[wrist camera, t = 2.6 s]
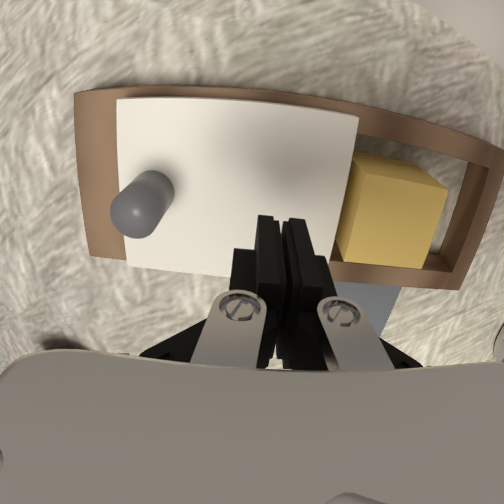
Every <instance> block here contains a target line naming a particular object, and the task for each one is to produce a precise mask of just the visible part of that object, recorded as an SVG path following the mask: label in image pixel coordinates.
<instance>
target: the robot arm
mask: <svg viewBox="0 0 504 504" xmlns="http://www.w3.org/2000/svg"><path fill="white" fill-rule="evenodd" d="M275 344H276V356H277V359H282V361H283V369H292V370H278V369H265V368H266V367H268V364H269V359H272V358H273V353H274V349H275ZM494 356H495V358H496V360H497V362H480V363H468V364H456V365H446V366H433V367H432V366H427V367H423V366H422V365H421V364H420V363H419V362H417V361H416V360H414V359H413V358H411V357H410V356H408V355H406V354H405V353H403V352H402V351H400V350H398V349H397V348H395V347H394V346H392V345H391V344H389V343H387V342H386V341H384V340H383V339H381V338H379V337H378V336H377V334H376V332H375V330H374V328H373V326H372V325H371V323H370V321H369V319H368V317H367V316H366V314H365V312H364V310H363V309H362V308H361V307H360V306H359V305H358V304H357V303H355V302H354V301H352V300H350V299H347V298H343V297H338V296H337V292H336V289H335V286H334V282H333V279H332V276H331V273H330V269H329V266H328V263H327V260H326V257H325V256H323V255H315V253H314V249H313V245H312V242H311V238H310V235H309V231H308V228H307V224H306V221H305V219H299V218H289V220H288V221H283V224H282V230H281V232H280V224H279V220H274V217H273V216H268V215H258V218H257V227H256V236H255V245H254V250H252V249H240V248H234V251H233V260H232V269H231V278H230V287H229V291H227V292H224V293H222V294H220V295H219V296H218V297H217V298H216V299H215V301H214V302H213V305H212V307H211V310H210V312H209V315H208V318H206V319H205V320H203V321H201V322H199V323H197V324H195V325H193V326H191V327H189V328H187V329H186V330H184V331H182V332H180V333H178V334H176V335H174V336H172V337H170V338H168V339H166V340H164V341H162V342H160V343H158V344H157V345H155V346H153V347H151V348H149V349H147V350H145V351H144V352H142V353H141V354H140V355H139V356H131V355H130V354H129V353H118V354H115V353H108V352H101V351H94V350H81V349H54V350H46V351H38V352H34V353H30V354H27V355H24V356H22V357H20V358H18V359H16V360H15V361H13V362H12V363H11V364H10V365H9V366H8V367H7V368H6V369H5V370H4V371H3V372H2V373H1V375H0V504H504V326H503V327H502V329H501V331H500V333H499V335H498V337H497V340H496V342H495V346H494Z"/></svg>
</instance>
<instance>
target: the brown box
mask: <svg viewBox="0 0 504 504" xmlns="http://www.w3.org/2000/svg"><path fill="white" fill-rule="evenodd" d="M127 97H208V98H227V99H241V100H253V101H263V102H273V103H282V104H290V105H297V106H304V107H311V108H318V109H324V110H330V111H336V112H341V113H346V114H352V115H355V116H357V117H359V122H358V127H357V134H362V135H367V136H372V137H377V138H382V139H386V140H391V141H395V142H399V143H404V144H408V145H412V146H416V147H420V148H423V149H427V150H431V151H435V152H438V153H442V154H445V155H449V156H452V157H456V158H459V159H462V160H465V161H469V163H468V167H467V170H466V174H465V177H464V181H463V184H462V188H461V191H460V194H459V198H458V201H457V204H456V207H455V210H454V213H453V216H452V219H451V222H450V225H449V228H448V230H447V233H446V236H445V239H444V241H443V244H442V247H441V249H440V252H439V254H431V253H428V254H427V256H426V259H425V261H424V264H423V266H422V269H416V268H405V267H395V266H385V265H375V264H364V263H354V262H344V261H343V258H342V255H341V252H340V250H339V247H338V244H337V242H334V243H333V247H332V251H331V255H330V259H329V263H328V266H329V269H330V273H331V276H332V279H333V281H339V282H351V283H364V284H376V285H389V286H403V287H417V288H431V289H446V290H459V289H460V287H461V285H462V283H463V281H464V278H465V276H466V274H467V272H468V270H469V268H470V265H471V263H472V261H473V258H474V256H475V254H476V251H477V249H478V247H479V244H480V242H481V239H482V237H483V234H484V231H485V229H486V226H487V223H488V221H489V218H490V215H491V212H492V209H493V207H494V204H495V201H496V198H497V194H498V191H499V188H500V185H501V182H502V178H503V175H504V150H503V149H501V148H499V147H497V146H495V145H493V144H491V143H488V142H486V141H483V140H481V139H478V138H475V137H473V136H470V135H467V134H464V133H461V132H458V131H455V130H453V129H449V128H446V127H443V126H440V125H437V124H434V123H431V122H427V121H424V120H420V119H417V118H413V117H410V116H406V115H402V114H398V113H394V112H391V111H386V110H382V109H378V108H374V107H369V106H365V105H360V104H355V103H350V102H345V101H340V100H334V99H329V98H323V97H317V96H310V95H304V94H297V93H289V92H281V91H272V90H262V89H252V88H239V87H223V86H199V85H149V86H126V87H111V88H99V89H91V90H86V91H80V92H76V93H74V125H75V144H76V158H77V169H78V179H79V188H80V196H81V204H82V211H83V218H84V224H85V231H86V237H87V242H88V248H89V253H90V256H95V257H104V258H112V259H120V260H127V258H126V250H125V242H124V235H123V234H122V233H120V232H119V231H118V230H117V229H116V227H115V226H114V224H113V223H112V220H111V217H110V206H111V203H112V201H113V199H114V198H115V197H116V196H117V195H118V194H119V193H120V191H119V176H118V157H117V113H116V108H117V99H121V98H127Z"/></svg>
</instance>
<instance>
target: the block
mask: <svg viewBox="0 0 504 504" xmlns="http://www.w3.org/2000/svg"><path fill="white" fill-rule="evenodd" d="M448 192H449V190H448V189H447V188H446V187H444V186H443V185H442V184H440V183H439V182H438V181H437V180H435V179H434V178H433V177H431V176H430V175H429V174H427V173H426V172H425V171H424V170H422V169H421V168H419V167H418V166H417V165H415V164H414V163H411V162H406V161H402V160H397V159H392V158H388V157H383V156H378V155H373V154H367V153H362V152H356V151H353V155H352V160H351V165H350V170H349V175H348V180H347V185H346V190H345V195H344V199H343V204H342V208H341V213H340V217H339V222H338V226H337V230H336V235H335V239H336V241H337V244H338V247H339V250H340V252H341V255H342V258H343V261H344V262H354V263H364V264H375V265H385V266H395V267H405V268H416V269H422V266H423V264H424V261H425V259H426V256H427V254H428V251H429V248H430V246H431V243H432V240H433V237H434V235H435V232H436V229H437V226H438V223H439V220H440V217H441V214H442V211H443V208H444V205H445V202H446V198H447V195H448Z"/></svg>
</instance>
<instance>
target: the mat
mask: <svg viewBox="0 0 504 504" xmlns="http://www.w3.org/2000/svg"><path fill="white" fill-rule="evenodd" d="M333 282H334V286H335V289H336V292H337V296H338V297H343V298H347V299H350V300H352V301H354V302H355V303H357V304H358V305H359V306H360V307H361V308H362V309H363V310H364V312H365V314H366V316H367V317H368V319H369V321H370V323H371V325H372V326H373V328H374V330H375V332H376V334H377V336H378V337H380V335H381V333H382V331H383V328H384V326H385V324H386V322H387V320H388V318H389V315H390V313H391V311H392V309H393V306H394V304H395V302H396V299H397V297H398V295H399V292H400V290H401V287H402V286H389V285H376V284H364V283H351V282H339V281H333Z"/></svg>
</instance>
